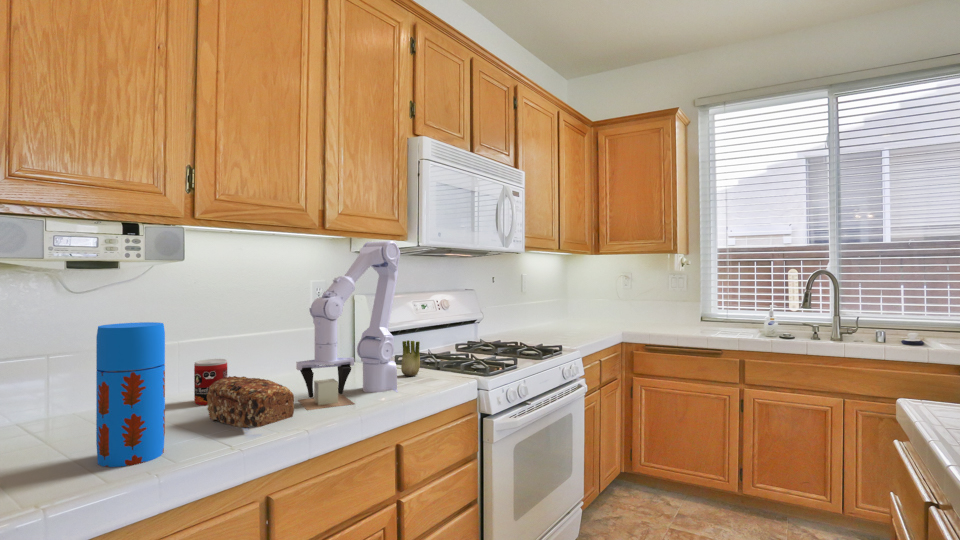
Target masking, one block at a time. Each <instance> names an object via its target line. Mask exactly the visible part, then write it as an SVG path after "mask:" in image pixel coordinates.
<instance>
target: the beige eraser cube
mask: <svg viewBox="0 0 960 540" xmlns="http://www.w3.org/2000/svg"><path fill="white" fill-rule="evenodd" d="M338 395H339V393H338V381H337V380H336V379H335V378H326V379H317V380H316V379H315V380H313V398H314V401H315V402H316V403H317V404H318V405H324V404H332V403H338Z"/></svg>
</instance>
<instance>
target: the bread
mask: <svg viewBox="0 0 960 540" xmlns="http://www.w3.org/2000/svg"><path fill="white" fill-rule="evenodd" d="M207 401H208V403H207V405H206V406H207V409H206V410H207V411H208V416H209V417H208V418H209V419H210V420H212V421H213V422H214V421H218V422H220V423H222V424H225V425H230V426H233V427H237V428H241V429H243V428H246V429H250V427H249V426H251V427H256V428H261V427H265V426H268V425H271V424H274V423H278V422H281V421H285V420H286V419H290V418H292V417H293V416H294V412H295V405H294V403H295V396H294V393H293V392H292V390H290V388H288V387H287V386H284V385H283V384H280V383H277V382H274V381H272V380H270V379H264V378H258V377H257V378H256V377H247V376H236V375H235V376H230V375H229V376H227V377H226V378H223V379H220V380H217V381H215V382H214V383H213V384H212V385H211V386H209V391H208V394H207Z"/></svg>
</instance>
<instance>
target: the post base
mask: <svg viewBox="0 0 960 540" xmlns="http://www.w3.org/2000/svg"><path fill="white" fill-rule="evenodd" d="M297 401H298V402H299V403H300V404H301V406H302V407H303V408H304V409H305V410H306V411H312V410H313V411H314V410H320V409H321V410H322V409H329V408H337V407H344V406H352V405H356V403H354V402H353V400H351V399H349V398H348V396H345V395H344V394H338V403H332V404H324V405H318V404H317V403H316V402H315V401H314V397H313V398H310V397H309V398H303V399H302V398H301V399H298V400H297Z"/></svg>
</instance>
